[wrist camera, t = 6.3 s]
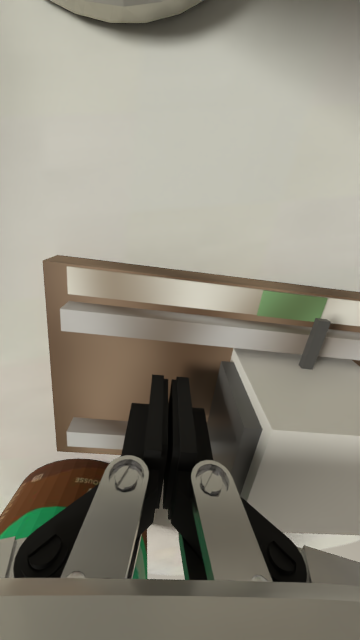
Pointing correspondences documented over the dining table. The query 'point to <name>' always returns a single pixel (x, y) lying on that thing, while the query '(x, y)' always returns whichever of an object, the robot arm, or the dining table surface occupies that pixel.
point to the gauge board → (167, 337)
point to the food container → (57, 500)
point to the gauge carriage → (292, 435)
